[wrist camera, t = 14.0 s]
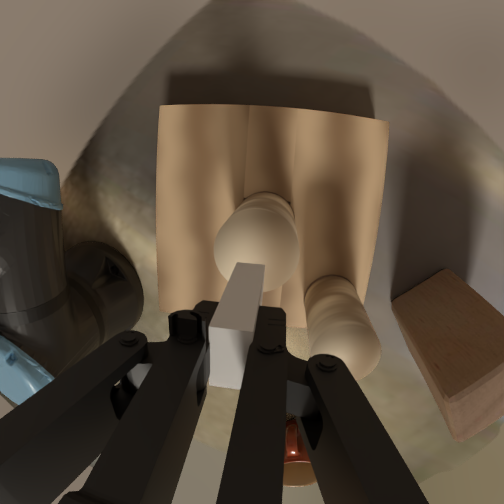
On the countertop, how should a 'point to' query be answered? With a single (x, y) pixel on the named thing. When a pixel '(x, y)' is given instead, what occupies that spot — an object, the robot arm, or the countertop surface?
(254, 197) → the peg
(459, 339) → the block
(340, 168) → the seat board
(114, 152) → the countertop surface
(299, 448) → the mug
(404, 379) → the countertop surface
